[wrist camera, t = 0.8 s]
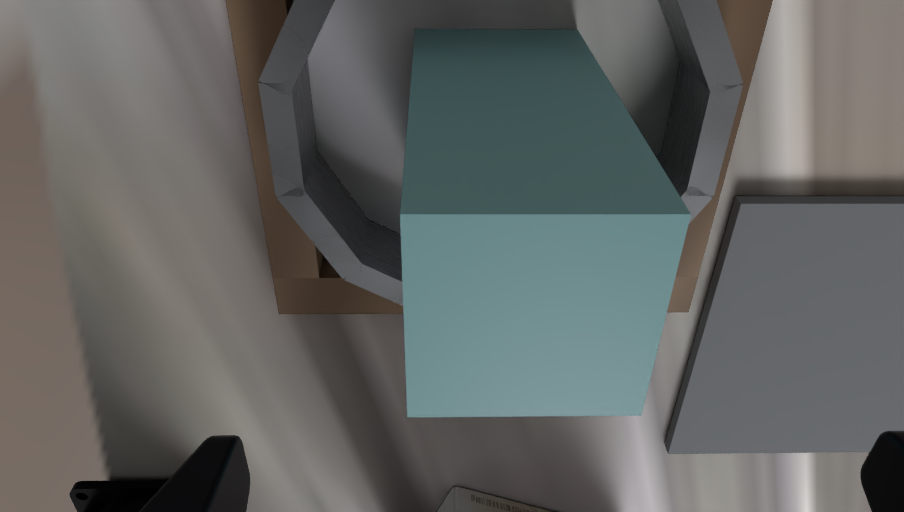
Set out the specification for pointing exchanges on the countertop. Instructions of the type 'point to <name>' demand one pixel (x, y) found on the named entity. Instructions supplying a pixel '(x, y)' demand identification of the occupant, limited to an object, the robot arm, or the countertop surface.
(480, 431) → the countertop surface
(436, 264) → the teal post
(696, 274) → the walnut stand
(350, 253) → the metal ring
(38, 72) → the countertop surface
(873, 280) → the charcoal mat
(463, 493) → the coffee box
